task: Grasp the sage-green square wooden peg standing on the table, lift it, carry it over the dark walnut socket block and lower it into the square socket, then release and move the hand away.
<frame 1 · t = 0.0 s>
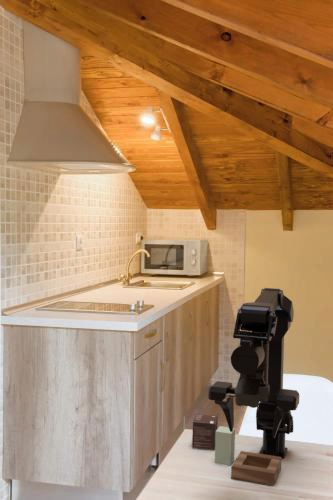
hand: (252, 434, 134), 15 cm above the table, fingers open, 9 cm apart
socket block: (256, 473, 149), on the table
box: (204, 446, 166), on the table
peg: (224, 461, 156), on the table
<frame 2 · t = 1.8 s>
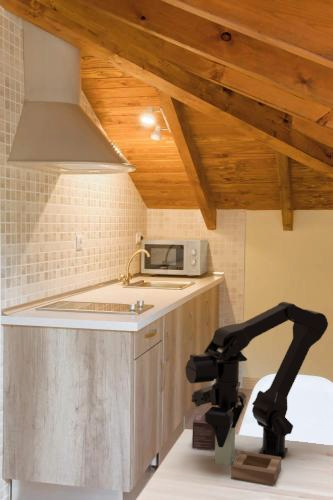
hand: (225, 440, 156), 5 cm above the table, fingers open, 9 cm apart
nothing on the table moved.
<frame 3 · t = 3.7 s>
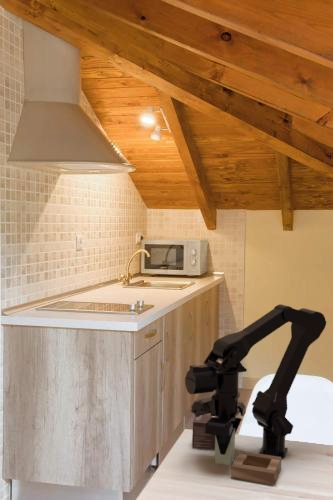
hand: (224, 451, 156), 3 cm above the table, fingers closed on peg, 4 cm apart
peg: (224, 461, 156), on the table, touching gripper
everything else where it was.
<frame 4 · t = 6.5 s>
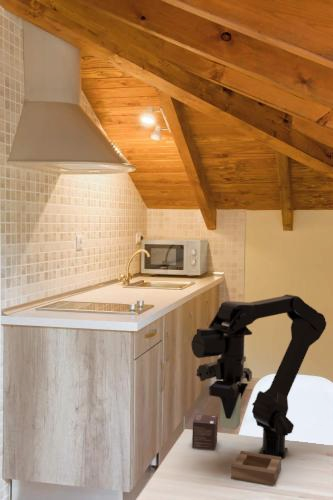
hand: (230, 415, 154), 12 cm above the table, fingers closed on peg, 4 cm apart
peg: (230, 425, 154), point 9 cm above the table, touching gripper
everything else where it was.
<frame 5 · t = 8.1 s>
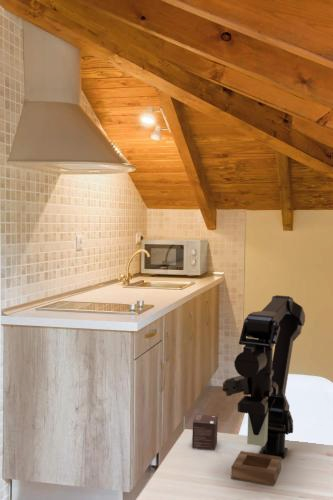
hand: (257, 431, 148), 10 cm above the table, fingers closed on peg, 4 cm apart
peg: (257, 442, 148), point 8 cm above the table, touching gripper
everything else where it was.
when the fingers open (5 cm above the table, at t = 9.6 s): peg drops 1 cm, resting on socket block.
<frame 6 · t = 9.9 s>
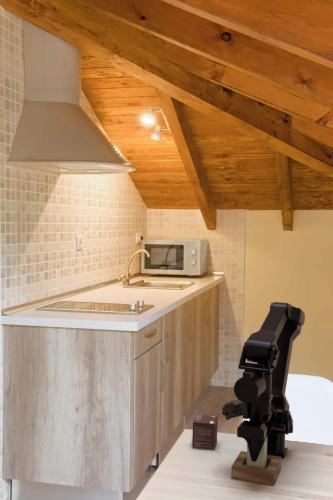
hand: (257, 455, 148), 5 cm above the table, fingers open, 7 cm apart
peg: (256, 471, 149), point 1 cm above the table, touching socket block
everything else where it was.
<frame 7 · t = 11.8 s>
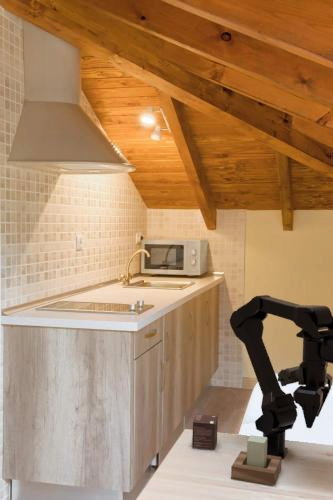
hand: (312, 422, 150), 12 cm above the table, fingers open, 9 cm apart
nothing on the table moved.
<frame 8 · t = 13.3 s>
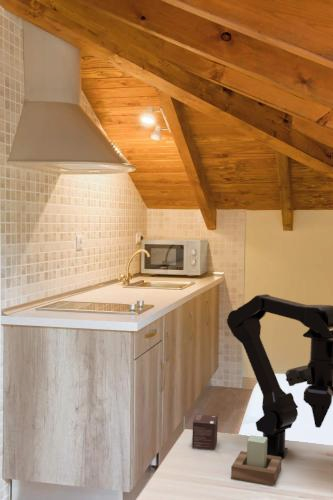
hand: (319, 421, 151), 12 cm above the table, fingers open, 9 cm apart
nothing on the table moved.
at the end: peg 0.0 cm off-centre on the socket block, point 0.5 cm above the socket block's base; peg tilted 0°; the gripper is holding nothing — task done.
